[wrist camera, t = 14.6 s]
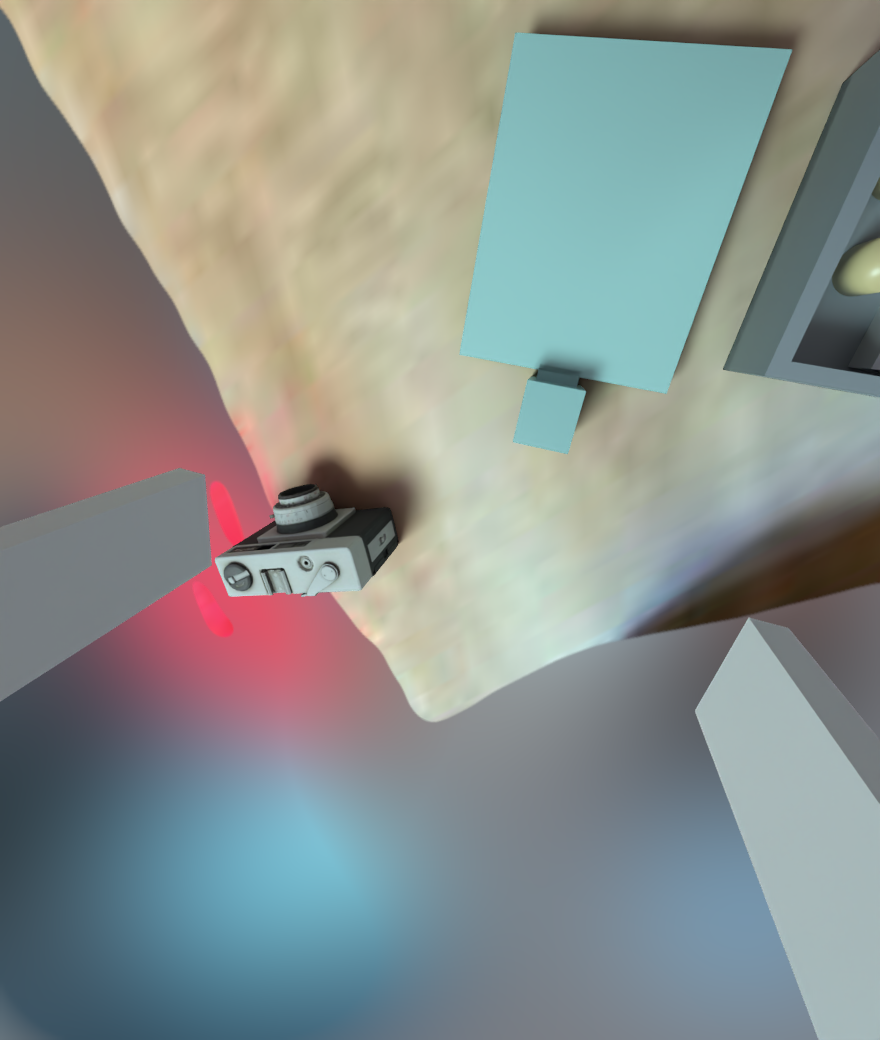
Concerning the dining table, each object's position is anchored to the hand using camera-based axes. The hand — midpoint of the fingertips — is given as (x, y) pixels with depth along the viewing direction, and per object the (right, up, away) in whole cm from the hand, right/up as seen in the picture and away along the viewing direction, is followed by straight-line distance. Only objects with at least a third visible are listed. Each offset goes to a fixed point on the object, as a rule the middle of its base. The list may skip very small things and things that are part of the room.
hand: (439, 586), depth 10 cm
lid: (+11, +19, +21) cm, 31 cm away
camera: (-11, +2, +35) cm, 37 cm away
